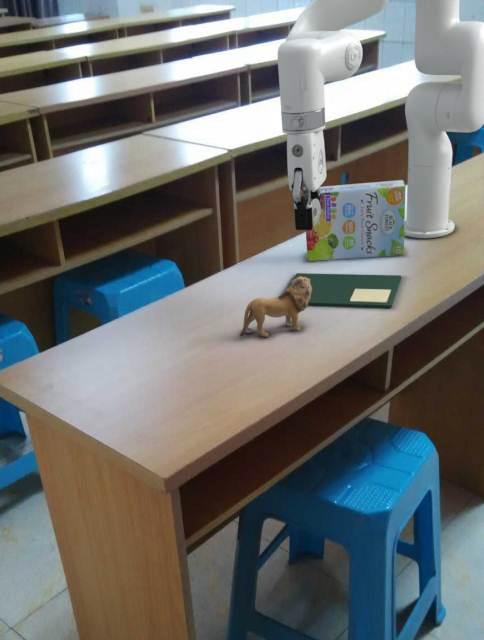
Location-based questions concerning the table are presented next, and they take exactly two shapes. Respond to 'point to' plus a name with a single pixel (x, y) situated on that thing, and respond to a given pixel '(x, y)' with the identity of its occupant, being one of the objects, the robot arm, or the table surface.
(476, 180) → the table surface
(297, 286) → the lion figurine
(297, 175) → the robot arm
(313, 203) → the grooved metal pulley
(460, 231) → the table surface
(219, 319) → the table surface
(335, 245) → the snack box
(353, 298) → the desk mat
